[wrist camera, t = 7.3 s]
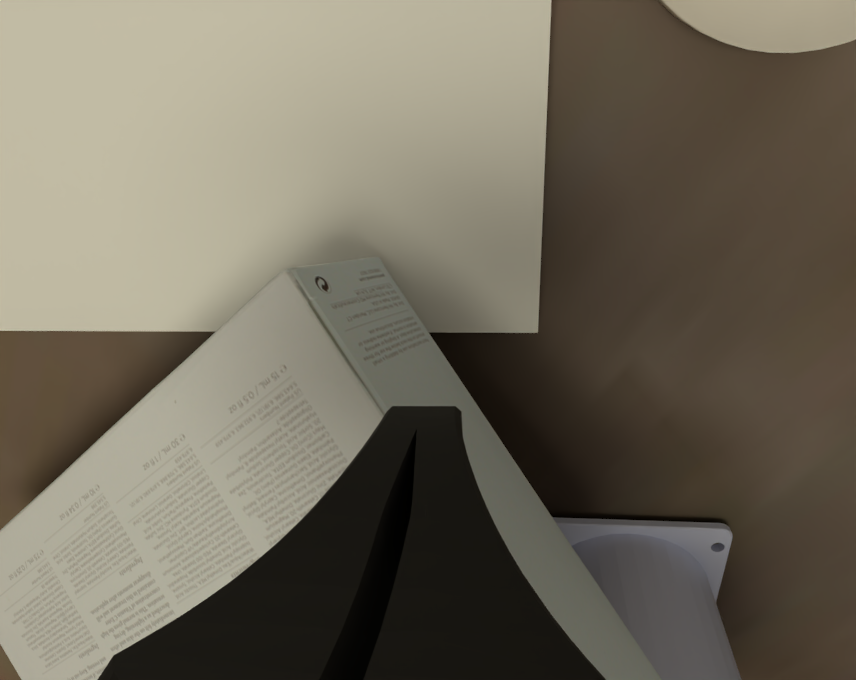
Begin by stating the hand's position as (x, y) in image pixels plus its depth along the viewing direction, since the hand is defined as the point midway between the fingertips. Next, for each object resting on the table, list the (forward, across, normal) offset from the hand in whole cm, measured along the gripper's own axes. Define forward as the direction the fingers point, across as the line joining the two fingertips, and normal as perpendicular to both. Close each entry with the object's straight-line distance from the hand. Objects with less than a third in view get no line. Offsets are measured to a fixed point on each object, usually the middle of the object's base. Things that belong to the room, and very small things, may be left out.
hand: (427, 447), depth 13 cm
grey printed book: (+8, +11, +5) cm, 15 cm away
